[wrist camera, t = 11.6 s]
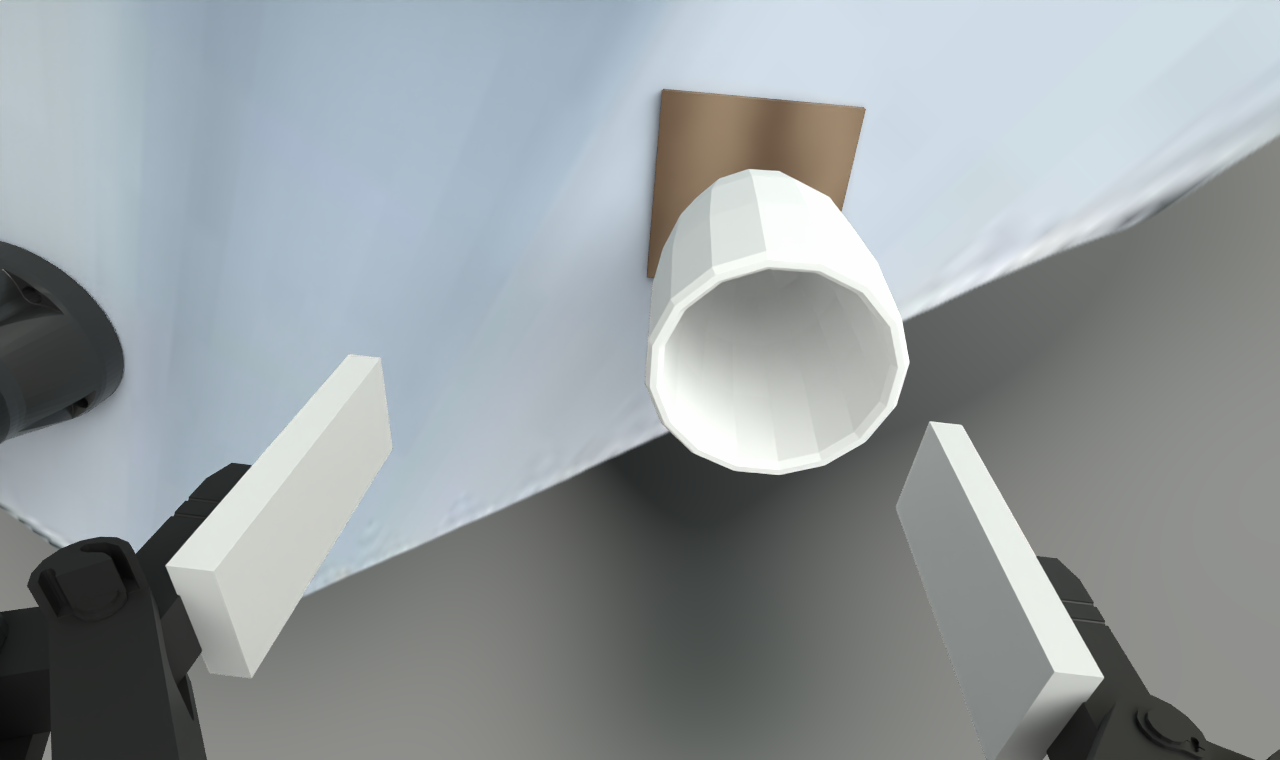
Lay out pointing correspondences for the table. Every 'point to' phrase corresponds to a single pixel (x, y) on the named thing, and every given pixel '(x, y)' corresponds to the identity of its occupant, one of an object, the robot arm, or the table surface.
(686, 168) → the coaster
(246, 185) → the table surface
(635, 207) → the table surface
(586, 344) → the table surface
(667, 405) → the cup
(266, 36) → the table surface
